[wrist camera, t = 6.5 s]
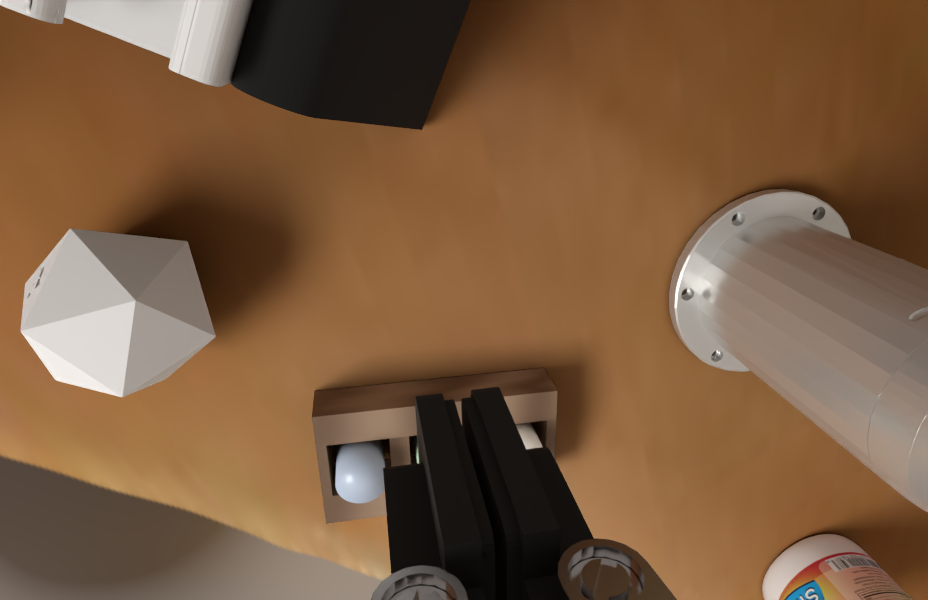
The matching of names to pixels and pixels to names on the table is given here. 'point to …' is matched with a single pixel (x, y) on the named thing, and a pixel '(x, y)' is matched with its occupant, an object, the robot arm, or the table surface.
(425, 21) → the device stand
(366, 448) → the slate blue button
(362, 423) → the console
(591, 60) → the table surface
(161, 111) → the table surface
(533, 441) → the cream button
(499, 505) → the robot arm
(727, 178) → the table surface
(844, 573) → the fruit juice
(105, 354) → the die
